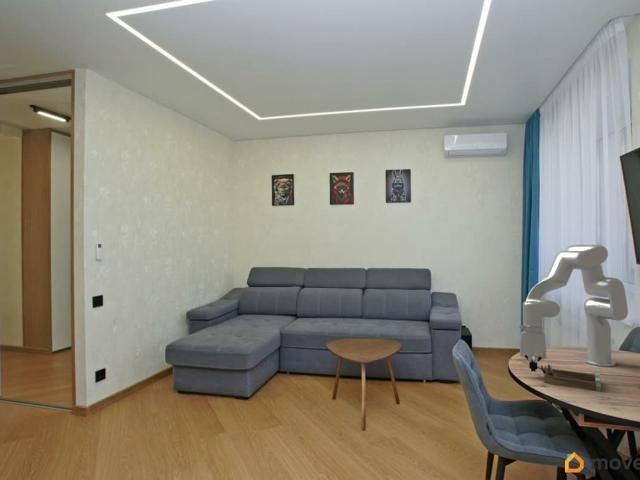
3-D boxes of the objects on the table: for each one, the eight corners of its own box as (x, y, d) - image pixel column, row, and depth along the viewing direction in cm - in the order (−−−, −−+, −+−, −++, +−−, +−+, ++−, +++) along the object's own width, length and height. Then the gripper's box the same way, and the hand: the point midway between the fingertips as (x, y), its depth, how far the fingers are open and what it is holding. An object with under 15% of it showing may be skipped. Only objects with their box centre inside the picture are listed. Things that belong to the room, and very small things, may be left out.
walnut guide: (546, 374, 176) (545, 365, 176) (599, 382, 165) (599, 372, 165) (544, 382, 166) (544, 373, 166) (600, 391, 155) (600, 381, 155)
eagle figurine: (532, 373, 174) (545, 376, 165) (538, 358, 175) (552, 361, 167) (547, 382, 174) (561, 386, 165) (553, 367, 175) (567, 370, 166)
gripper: (512, 329, 174) (513, 370, 174) (551, 332, 166) (552, 376, 166) (515, 325, 181) (515, 365, 180) (552, 329, 172) (553, 371, 172)
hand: (533, 370), depth 173 cm, fingers closed
